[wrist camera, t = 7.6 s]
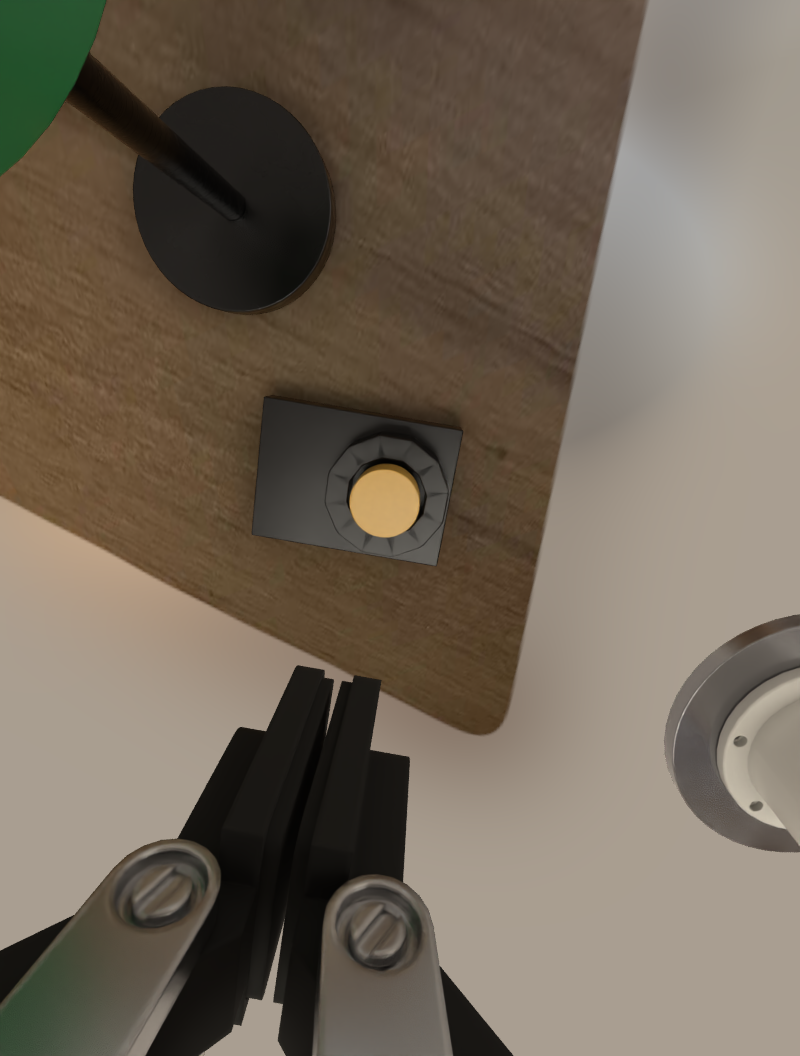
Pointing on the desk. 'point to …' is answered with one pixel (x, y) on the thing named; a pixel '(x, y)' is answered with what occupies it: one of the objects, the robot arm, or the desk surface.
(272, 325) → the desk surface
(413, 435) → the button base
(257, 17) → the desk surface
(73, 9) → the desk lamp
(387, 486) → the button
